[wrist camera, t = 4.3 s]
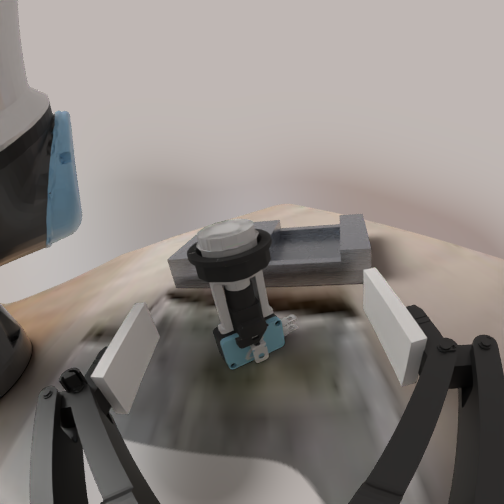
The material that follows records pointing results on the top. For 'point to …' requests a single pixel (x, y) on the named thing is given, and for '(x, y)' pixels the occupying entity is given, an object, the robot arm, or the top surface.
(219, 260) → the push button
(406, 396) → the top surface
